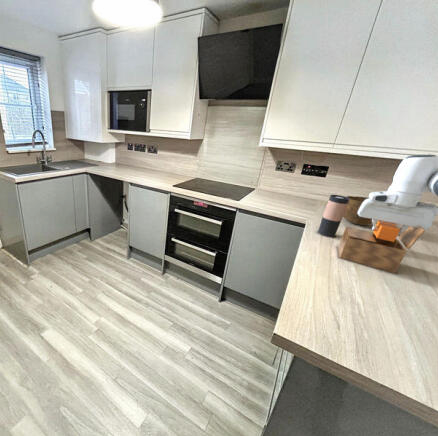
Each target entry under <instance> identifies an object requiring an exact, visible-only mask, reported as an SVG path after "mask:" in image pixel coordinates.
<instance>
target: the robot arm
mask: <svg viewBox="0 0 438 436" xmlns="http://www.w3.org/2000/svg"><path fill="white" fill-rule="evenodd" d="M425 192H427V193H428V192H429V193H432V194H433V195H435V196H437V197H438V155H437V154H429V153H428V154H412V155H409V156H407V157H405V158H404V159H403V160H401V162H400V163H399V165H398V167H397V169H396V171H395V173H394V175H393V179H392V183H391V184H390V186H388V189H387V190H385V191H374V192H373V191H371V192H370V193H369V194H368V197H367V198H368V199H366V200H364V201H363V203H362V204H361V206H360V208H359V210H358V215H359V216H360V217H364V218H369V219H372V227H371V230H372V232H373V231H378V228H379V227H378V226H376V223H377V222H378V220H380V221H385V222H390V223H395V225H400V226H401V228H399V229H400V231H399V233H398V235H397V237H400V235H401V234H402V233H403V232H404V231H405V230H407V229H408V227H409V226H410V227H415V228H418V227H419V226H421V227H422V228H423V229H424V230H425V231H426V230H429V229H430V228H431V227H432V226H433V223H434V221H435V217H436V216H438V206H437V205H436V204H435V203H428V202H423V201H420V199H421V198H422V195H423V194H424V193H425Z"/></svg>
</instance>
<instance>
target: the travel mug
mask: <svg viewBox="0 0 438 436" xmlns="http://www.w3.org/2000/svg"><path fill="white" fill-rule="evenodd" d="M348 202H349V198H348V197H347V196H345V195H340V194H330V195H329V199H328V201H327V203H326V206H325V209H324V212H323V215H322V217H321V220H320V224H319V227H318V230H317V233H318V234H319V235H321V236H323V237H327V238H334V237H335V236H336V234H337V232H338V229H339V227H340V225H341V222H342V220H343V219H344V217H343V215H344V212H345V210H346V207H347V204H348Z"/></svg>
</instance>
